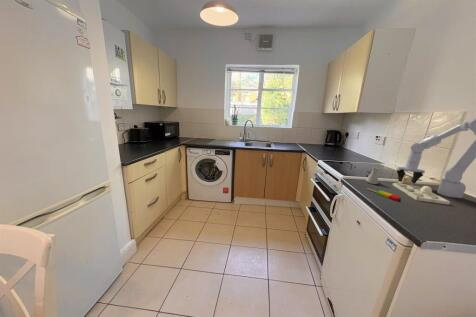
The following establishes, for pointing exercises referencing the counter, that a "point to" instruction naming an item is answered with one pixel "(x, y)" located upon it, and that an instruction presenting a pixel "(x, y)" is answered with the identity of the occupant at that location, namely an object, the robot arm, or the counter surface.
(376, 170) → the flask
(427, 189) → the egg
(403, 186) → the egg box
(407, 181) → the egg
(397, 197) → the popsicle
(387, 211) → the counter surface
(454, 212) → the counter surface
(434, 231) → the counter surface
